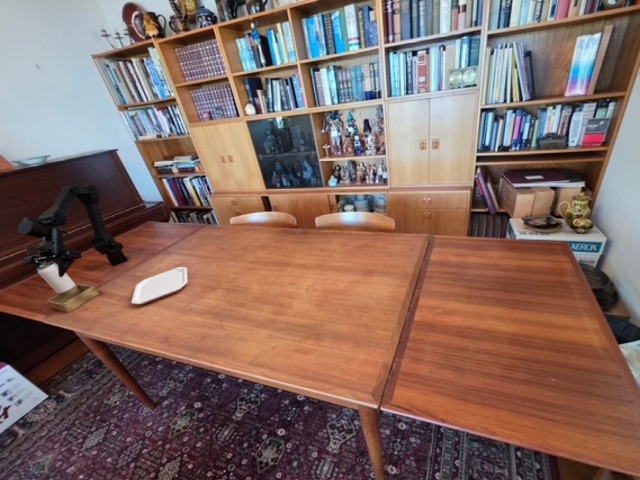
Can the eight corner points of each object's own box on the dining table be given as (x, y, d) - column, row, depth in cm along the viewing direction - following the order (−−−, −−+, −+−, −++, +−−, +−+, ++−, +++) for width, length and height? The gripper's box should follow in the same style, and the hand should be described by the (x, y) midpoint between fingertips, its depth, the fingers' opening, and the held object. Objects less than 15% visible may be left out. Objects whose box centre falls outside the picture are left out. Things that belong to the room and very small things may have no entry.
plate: (132, 311, 113) (129, 307, 112) (139, 285, 129) (136, 281, 128) (189, 290, 119) (186, 285, 118) (188, 268, 135) (186, 264, 134)
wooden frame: (84, 290, 134) (78, 283, 132) (99, 293, 129) (93, 286, 127) (53, 308, 125) (46, 301, 123) (68, 312, 120) (61, 304, 118)
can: (64, 294, 120) (42, 270, 114) (53, 293, 122) (30, 270, 115) (79, 284, 125) (59, 260, 119) (68, 284, 127) (48, 261, 120)
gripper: (7, 240, 114) (5, 279, 111) (54, 231, 114) (54, 270, 111) (38, 248, 125) (38, 283, 122) (82, 239, 125) (82, 275, 122)
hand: (52, 278), depth 119 cm, fingers closed on can, 6 cm apart
